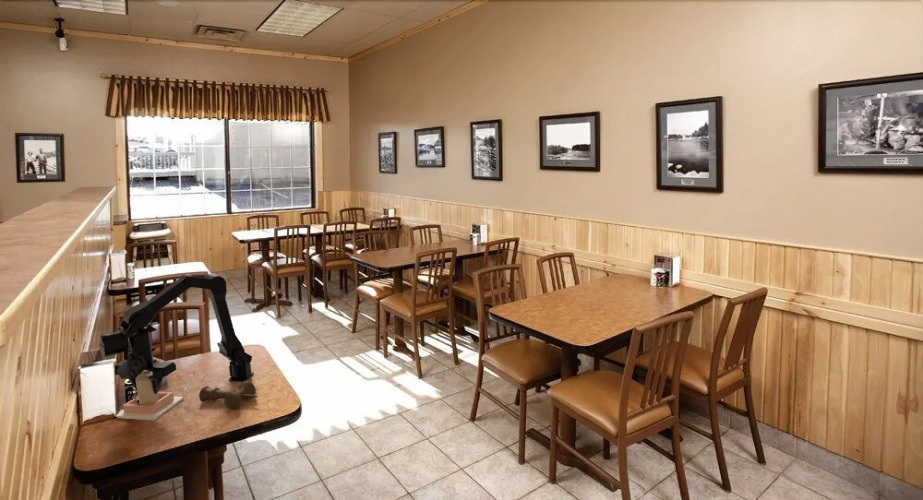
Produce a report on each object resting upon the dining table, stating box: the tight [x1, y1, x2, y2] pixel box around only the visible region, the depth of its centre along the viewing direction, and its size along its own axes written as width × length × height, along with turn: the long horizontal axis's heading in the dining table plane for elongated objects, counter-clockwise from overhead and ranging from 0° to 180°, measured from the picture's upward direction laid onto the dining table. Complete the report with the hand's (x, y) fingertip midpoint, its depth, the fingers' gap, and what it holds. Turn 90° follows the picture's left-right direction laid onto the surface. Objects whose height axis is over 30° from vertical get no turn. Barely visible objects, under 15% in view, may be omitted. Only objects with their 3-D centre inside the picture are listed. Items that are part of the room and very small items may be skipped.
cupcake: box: [142, 356, 169, 386], centre depth 188 cm, size 9×9×10 cm
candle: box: [136, 371, 159, 405], centre depth 170 cm, size 6×6×10 cm
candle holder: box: [116, 391, 185, 421], centre depth 171 cm, size 14×14×3 cm
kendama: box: [198, 380, 258, 411], centre depth 173 cm, size 6×10×20 cm
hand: (148, 393), depth 170 cm, fingers closed on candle, 5 cm apart
